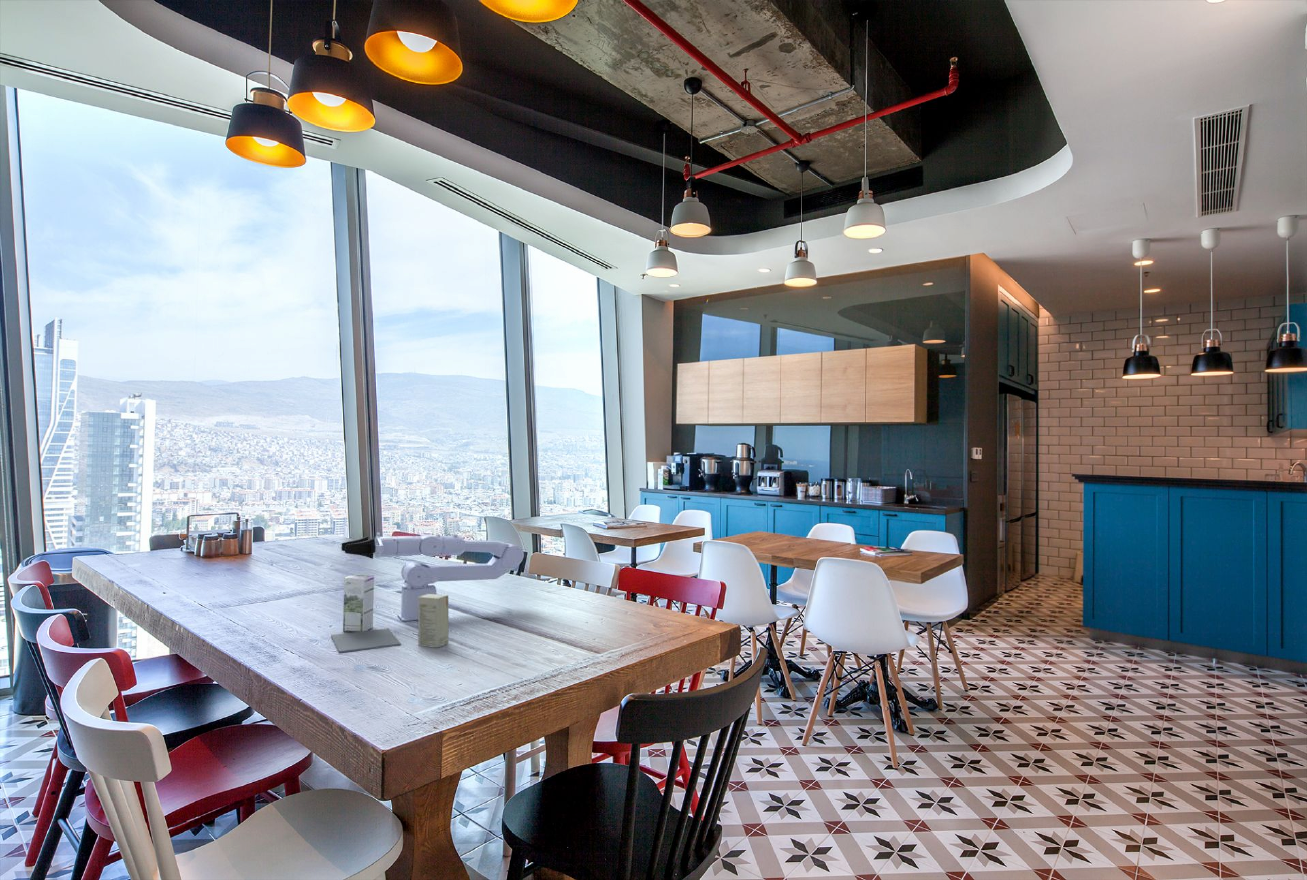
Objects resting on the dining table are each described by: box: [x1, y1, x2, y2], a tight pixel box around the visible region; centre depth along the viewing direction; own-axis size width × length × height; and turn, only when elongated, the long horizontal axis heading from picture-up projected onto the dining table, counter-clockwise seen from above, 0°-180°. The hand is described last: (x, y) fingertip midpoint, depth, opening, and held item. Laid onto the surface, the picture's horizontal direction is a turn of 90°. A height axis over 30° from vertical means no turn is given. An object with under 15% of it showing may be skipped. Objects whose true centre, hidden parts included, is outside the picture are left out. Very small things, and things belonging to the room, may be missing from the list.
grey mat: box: [330, 627, 402, 654], centre depth 167 cm, size 14×16×1 cm
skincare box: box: [417, 593, 449, 648], centre depth 165 cm, size 6×4×12 cm
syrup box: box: [342, 573, 375, 633], centre depth 178 cm, size 6×6×14 cm
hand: (343, 548), depth 182 cm, fingers open, 7 cm apart
